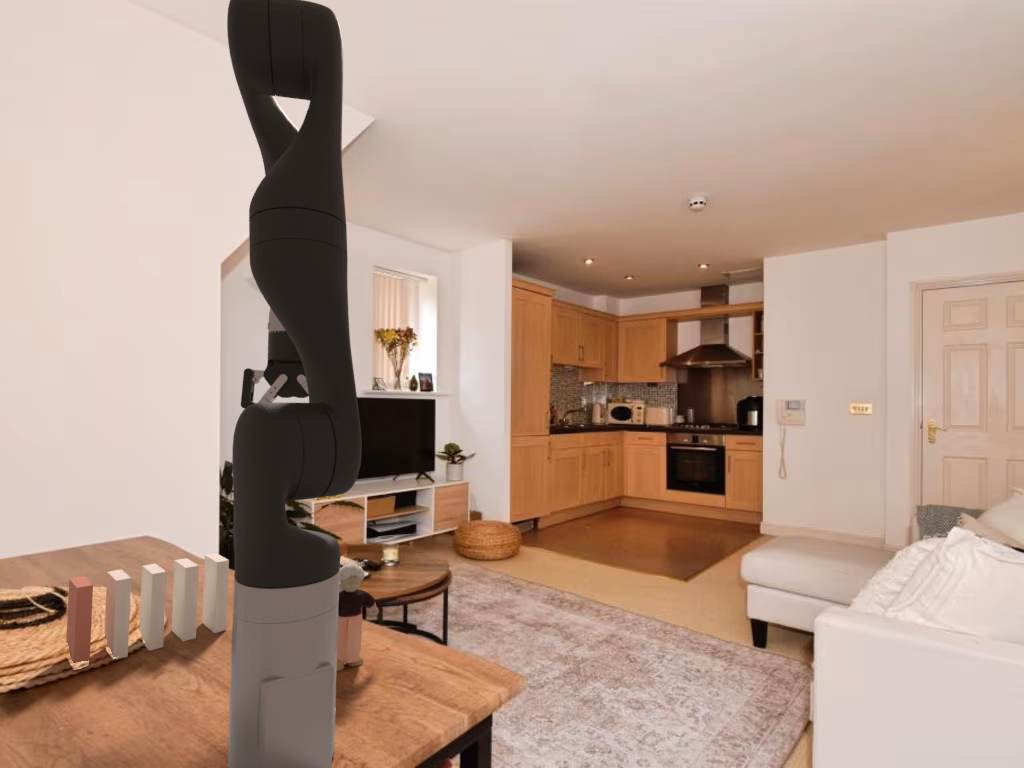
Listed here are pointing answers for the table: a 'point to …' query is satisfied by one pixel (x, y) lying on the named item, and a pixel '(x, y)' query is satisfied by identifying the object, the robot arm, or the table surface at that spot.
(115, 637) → the domino
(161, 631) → the domino
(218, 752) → the table surface
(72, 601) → the domino
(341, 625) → the grandmother figurine
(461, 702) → the table surface
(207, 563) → the domino
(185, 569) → the domino
